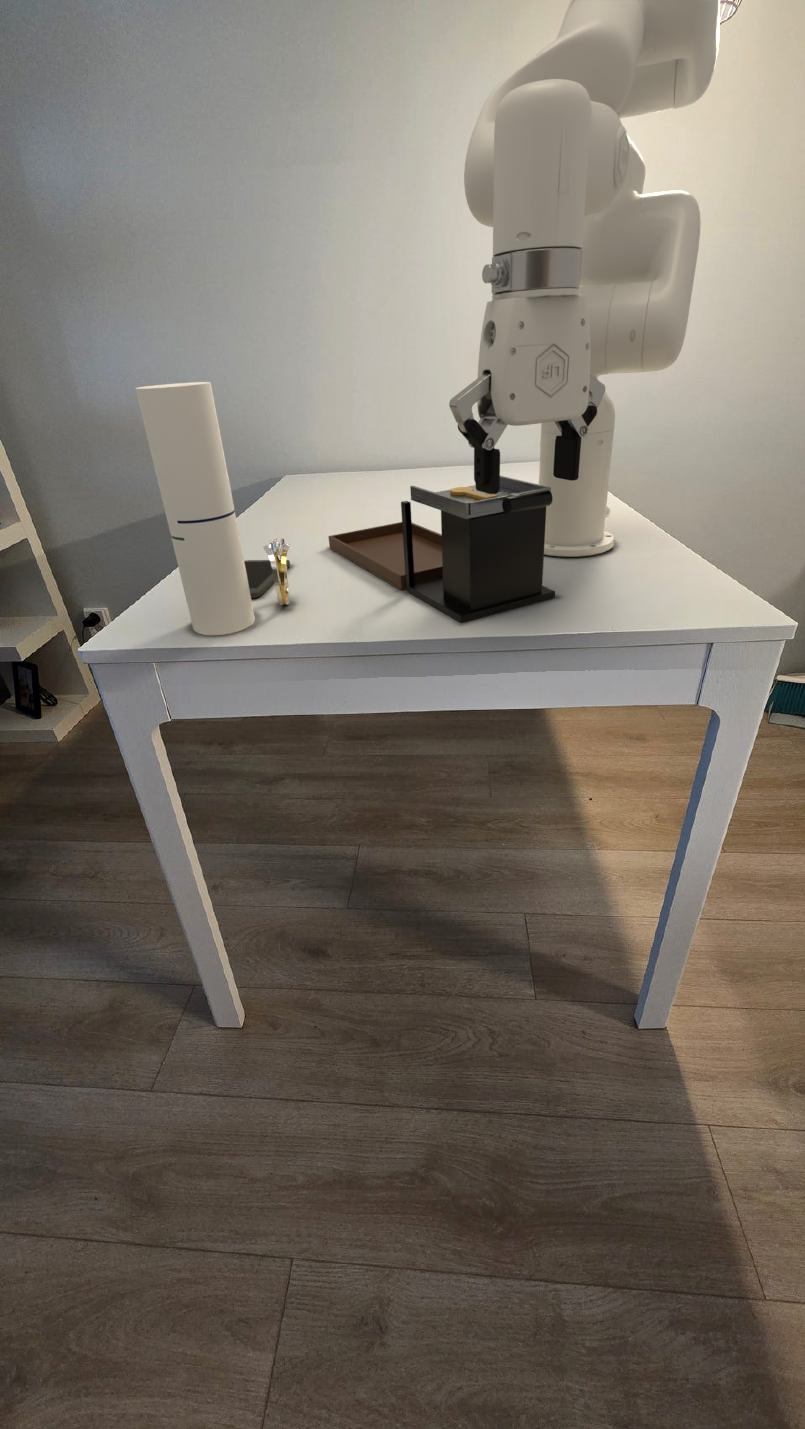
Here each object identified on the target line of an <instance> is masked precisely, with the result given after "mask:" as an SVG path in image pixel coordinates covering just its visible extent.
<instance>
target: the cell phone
mask: <svg viewBox="0 0 805 1429" xmlns="http://www.w3.org/2000/svg"><path fill="white" fill-rule="evenodd" d="M279 560H280V563H281V559H279ZM244 563H245V568H246V573H247V579H248V584H249V590H250V595H251V598H260V597H261V596H262V595H263V594H265V592H266V591H268V589H269V588H270V587H271V586H272V585H273V584H275V583H274V577H273V571H272V567H271V562H270V559H248V560H247V559H246V560H244ZM286 565H287V569H288V568H290V566H291V561H290V560H289V559H286ZM278 573H279V572H278ZM279 578H280V576H279Z"/></svg>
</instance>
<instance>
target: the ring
mask: <svg viewBox="0 0 805 1429" xmlns="http://www.w3.org/2000/svg"><path fill="white" fill-rule="evenodd" d="M268 542H269V544H266V545H263V546H262V548H263V549H264V551H265V553H266V554H267V556H268V560H270V562H271V567H272V571H273V577H274V583H273V584H274V588H275V592H276V596H277V600H278V603H279V605H281V606H289V605H290V585H289V584H290V583H289V575H288V574H289V572H288V568H287V565H286V560H287V556H288V551H289V549H290V546H291V545H290V543H285V538H280V541H279V542H278V538H274V539H273V540H272V539H271V540H269V541H268ZM279 557H280V558H279ZM280 560H281V563H280ZM278 572H279V573H278ZM279 576H280V577H279Z"/></svg>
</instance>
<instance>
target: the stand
mask: <svg viewBox="0 0 805 1429" xmlns="http://www.w3.org/2000/svg"><path fill="white" fill-rule="evenodd" d="M400 510H401V522H402V529H403V546H404V563H405V580H406V589H405V591H406V592H408V593H409V594H411V595H413V596H414V597H416V598H418V599H420V600H421V601H422V602H425V603H427V604H428V605H430V606H432V607H433V608H435V609H437V610H439V611H440V612H442V613H443V614H445V615H447V616H449V617H450V618H452V619H454V620H456V621H458V622H459V623H461V624H462V623H466V622H469V621H473V620H477V619H480V618H485V617H488V616H491V615H495V614H498V613H503V612H506V611H511V610H514V609H517V608H521V607H524V606H529V605H532V604H535V603H539V602H543V601H547V600H551V599H554V598H556V590H554V589H551V588H549V587H546V586H544V585H543V579H544V561H545V560H544V558H545V554H544V543H545V524H546V506H545V507H540V508H535V509H530V510H526V511H521V512H516V513H511V514H506V513H505V512H499V513H494V514H489V515H484V516H479V517H474V518H469V519H465V518H462V517H459V516H456V515H453V514H450V513H447V512H444V511H441V510H440V525H441V526H440V528H441V535H442V566H443V577H441V578H437V579H433V580H428V581H424V582H420V583H416V584H415V579H414V560H413V541H412V523H413V522H412V521H413V520H412V505H411V501H408V500H404V501H400Z"/></svg>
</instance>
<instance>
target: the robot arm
mask: <svg viewBox="0 0 805 1429" xmlns="http://www.w3.org/2000/svg"><path fill="white" fill-rule="evenodd" d="M720 8H721V0H569V4H568V6H567V9H566V11H565V14H564V17H563V20H562V22H561V25H560V28H559V31H558V34H557V36H556V38H555V40H553V41H552V42H550V43H548V44H547V45H546V46H545V47H543V48H542V49H541V50H540V51H538V52H537V53H536V54H535V55H533V56H532V57H531V58H529V59H528V60H527V61H525V62H524V63H523V64H522V65H520V66H519V67H517V68H516V69H515V70H513V71H512V72H510V73H509V74H508V75H507V76H506V77H505V78H504V79H502V80H501V81H500V82H499V83H498V84H497V85H496V86H495V87H494V88H493V90H492V91H491V92H490V93H489V95H488V96H487V98H486V99H485V101H484V103H483V105H482V107H481V109H480V112H479V114H478V117H477V119H476V122H475V125H474V128H473V129H472V132H471V136H470V139H469V143H468V146H467V152H466V155H465V162H464V172H463V186H464V195H465V199H466V204H467V206H468V209H469V212H470V213H471V215H472V216H473V218H474V219H475V220H476V221H477V222H478V223H479V224H481V225H483V226H486V227H488V228H492V257H491V263H490V264H489V263H488V264H485V265H484V267H483V268H482V270H481V271H482V272H481V278H482V281H483V283H484V284H491V296H492V297H491V300H490V301H487V302H486V305H485V311H484V315H483V319H482V320H483V321H482V327H481V333H480V343H479V352H478V362H477V363H478V364H477V378H476V379H475V380H473V381H472V382H471V383H469V385H467V386H466V387H464V388H463V389H462V390H461V391H460V392H458V393H457V394H455V396H453V397H452V398H451V399H450V400H449V404H448V405H449V406H448V407H449V409H450V411H451V413H452V415H453V418H454V420H455V422H456V423H457V429H458V431H459V433H460V434H461V435H462V436H463V438H465V440H467V443H468V446H469V447H470V448H473V480H474V483H475V486H476V490H477V491H481V492H484V493H488V494H497V493H498V492H499V489H500V476H501V451H500V449H499V448H495V447H496V445H497V443H498V442H499V439H500V438H501V437H502V434H503V433H504V431H505V430H506V428H507V426H513V427H517V426H518V427H520V426H531V425H539V424H540V425H541V426H540V442H539V443H540V444H539V445H540V447H539V467H538V484H539V485H543V486H547V487H551V493H552V498H553V499H552V503H551V505H549V506H546V524H545V543H544V556H545V555H546V556H554V557H564V558H565V557H566V558H569V557H570V558H571V557H572V558H574V557H575V558H576V557H586V556H594V555H599V554H602V553H606V552H607V551H609V550H611V549H612V548H614V545H615V536H614V534H612V533H611V532H610V531H607V530H605V525H606V524H605V523H606V518H608V517H609V516H610V513H611V509H610V507H609V506H608V494H609V483H610V474H611V464H612V454H613V445H614V434H615V425H616V409H615V406H614V403H613V400H612V399H611V396H610V395H609V393H608V392H607V391H606V386H605V384H604V383H602V382H601V381H599V379H598V377H600V376H603V375H604V376H605V375H609V374H610V375H611V374H613V375H614V374H634V373H635V374H636V373H637V374H638V373H651V372H652V373H653V372H658V371H659V372H660V371H663V370H665V369H668V368H669V367H670V366H672V365H673V364H674V363H675V362H676V361H677V360H678V357H679V356H680V353H681V351H682V348H683V345H684V341H685V337H686V333H687V328H688V322H689V314H690V307H691V302H692V294H693V287H694V281H695V276H696V275H695V274H696V268H697V263H698V262H697V261H698V255H699V248H700V238H701V223H702V222H701V211H700V207H699V202H698V201H697V199H696V198H695V197H694V195H693V194H691V193H689V192H688V191H684V190H668V191H660V192H659V191H658V192H651V193H645V194H644V193H643V190H644V186H645V179H646V164H645V161H644V159H643V156H642V154H641V153H640V151H639V150H638V148H637V147H636V145H635V144H634V142H633V141H632V140H631V138H630V137H629V135H628V131H627V128H626V127H625V126H624V125H623V122H622V120H621V119H624V118H631V117H636V116H641V115H642V116H643V115H647V114H653V113H659V112H664V111H665V112H666V111H669V110H675V109H680V108H684V107H688V106H691V105H693V104H695V103H697V101H699V100H700V99H701V98H702V97H703V95H704V94H705V93H706V91H707V90H708V88H709V86H710V83H711V81H712V78H713V75H714V72H715V69H716V64H717V59H718V53H719V45H720V18H721V17H720V15H721V14H720V12H721V9H720ZM475 404H476V407H477V414H478V418H479V421H477V419H475V418H474V413H473V406H474V405H475Z"/></svg>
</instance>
